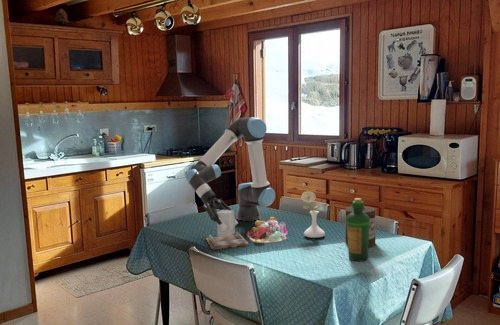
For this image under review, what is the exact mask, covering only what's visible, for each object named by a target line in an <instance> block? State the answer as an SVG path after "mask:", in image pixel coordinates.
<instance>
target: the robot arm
mask: <svg viewBox="0 0 500 325" xmlns="http://www.w3.org/2000/svg"><path fill="white" fill-rule="evenodd" d="M266 133H267V124H266V122H265V121H264V120H263V119H262V118H259V117H255V116H251V117H240V118H237V119H235V120H234V121H233V122H232V123H231V124H229V125H228V127H226V129H225V130H224V133H223V134H222V135H221V136H220V138H219V139H217V141H216V142H215V143H214V144H212V146H211V147H210V148H209V149H208V150H207V151H206V153H204V155H203V156H202V157H201V158H200V159H199V160H198V161H197V162H196V163H194V164H191V165H190V166H188V169H187V173H186V174H185V177H184V178H185V180H186V181H187V182H188V184H189V185H190V186H191V188H192V189H193V191H194V192H195V193H196V194H197V196H198V197H199V198H200V200H201V201H202V202H203V203H204V204H203V205H202V206H203V208H204V210H205V211H206V213H207V215H208V216H209V218H210V220H211V221H213V222H216V224H217V223H218V224H219V225H220V226H221V228H222V229H223V230H225V229H226V228H227V226H226V224H225V223H224V222H223V221H222V219H221V218H220V217H219V218H218V214H217V212H218V211H217V210H219V211H220V210H232V209H231V207H230V206H229V205H228V204H226V203H225V202H224V200H223V199H222V198H219V199H218V198H217V197H216V193H215V192H214V191H213V190H212V188H211V186H210V185H209V184H208V183H209V182H212V181H213V180H216V179H217V178H219V177H221V175H222V171H221V168H220V166H219V165H218V164H215V163H216V162H217V161H218V159H219V158H220V157H221V156H222V155H223V154H224V153H225V152H226V150H228V149H229V148H230V147H231V146H232V144H233V143H234V142H237V141H238V140H239V139H240V138H243V141H244V143H246V144H247V150H248V156H249V157H248V158H249V166H250V171H251V178H252V182H251V181H250V182H244V183H239V184H238V188H237V193H238V195H237V196H238V209H237V213H236V218H235V217H234V223H235V227H236V226H237V225H238V224H239V222H238V221H239V220H242V221H241V222H246V221H248V222H255V221H254V220H256V221H257V220H258V219H259V220H261V214H260V210H259V208H258V206H259V207H269V206H270V205H272V204H273V203H274V201H275V198H276V192H275V189H273V187H271V183H270V182H269V181H268V179H267V172H266V163H265V157H264V149H263V142H264V139H265V138H264V136H266ZM237 219H238V220H237Z"/></svg>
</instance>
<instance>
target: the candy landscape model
mask: <svg viewBox="0 0 500 325" xmlns="http://www.w3.org/2000/svg"><path fill="white" fill-rule="evenodd" d="M277 220H278V219H277V218H275V217H274V216H270V217H269V220H267V221H264V220H260V219H259V220H256V221H254V224H255V226H253V227H252V228H251V229H250V230H248V231H247V232H246V234H245V236H246V237H247V238H248V239H249V241H251V242H253V243H256V244H271V243H278V242H282V241H285V240H287V239H288V238H287V236H288V234H289V232H288V229H287V226H286V223H284V222H282V221H280V222H278V221H277Z"/></svg>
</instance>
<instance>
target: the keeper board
mask: <svg viewBox="0 0 500 325" xmlns="http://www.w3.org/2000/svg"><path fill="white" fill-rule="evenodd" d="M206 240H207V241H206ZM205 241H206V242H208V243H207V244H208V245H210V246H209V248H211V250H213V251H215V250H221V249H222V248H223V249H229V248H228V247H232V248H238V247H237V246H241V247H249V246H250V245H249V242H248V241H247V239H245V238H244V237H243V236H242V235H241V234H240V233H239V231H235V234H233V235H232V236H231V237H226V236H212V234H209V237H206V238H205ZM248 245H249V246H248Z"/></svg>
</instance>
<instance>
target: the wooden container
mask: <svg viewBox="0 0 500 325" xmlns="http://www.w3.org/2000/svg"><path fill="white" fill-rule="evenodd" d="M363 204H364V202H363ZM352 212H354V210H353V207H352V205H350V206H348V207H346V208H345V226H344V227H345V229H344V230H345V235H344V238H345V243H344V244H345V245H347V246H348V235H347V219H346V218H347V216H348V215H349V214H350V213H352ZM362 212H364V213H365V214H367V215H368V217H369V218H370V226H369V244H368V248H372V247H374V246H375V245H376V208H374V207H372V206H368V205H365V204H364V207H363V211H362Z"/></svg>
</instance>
